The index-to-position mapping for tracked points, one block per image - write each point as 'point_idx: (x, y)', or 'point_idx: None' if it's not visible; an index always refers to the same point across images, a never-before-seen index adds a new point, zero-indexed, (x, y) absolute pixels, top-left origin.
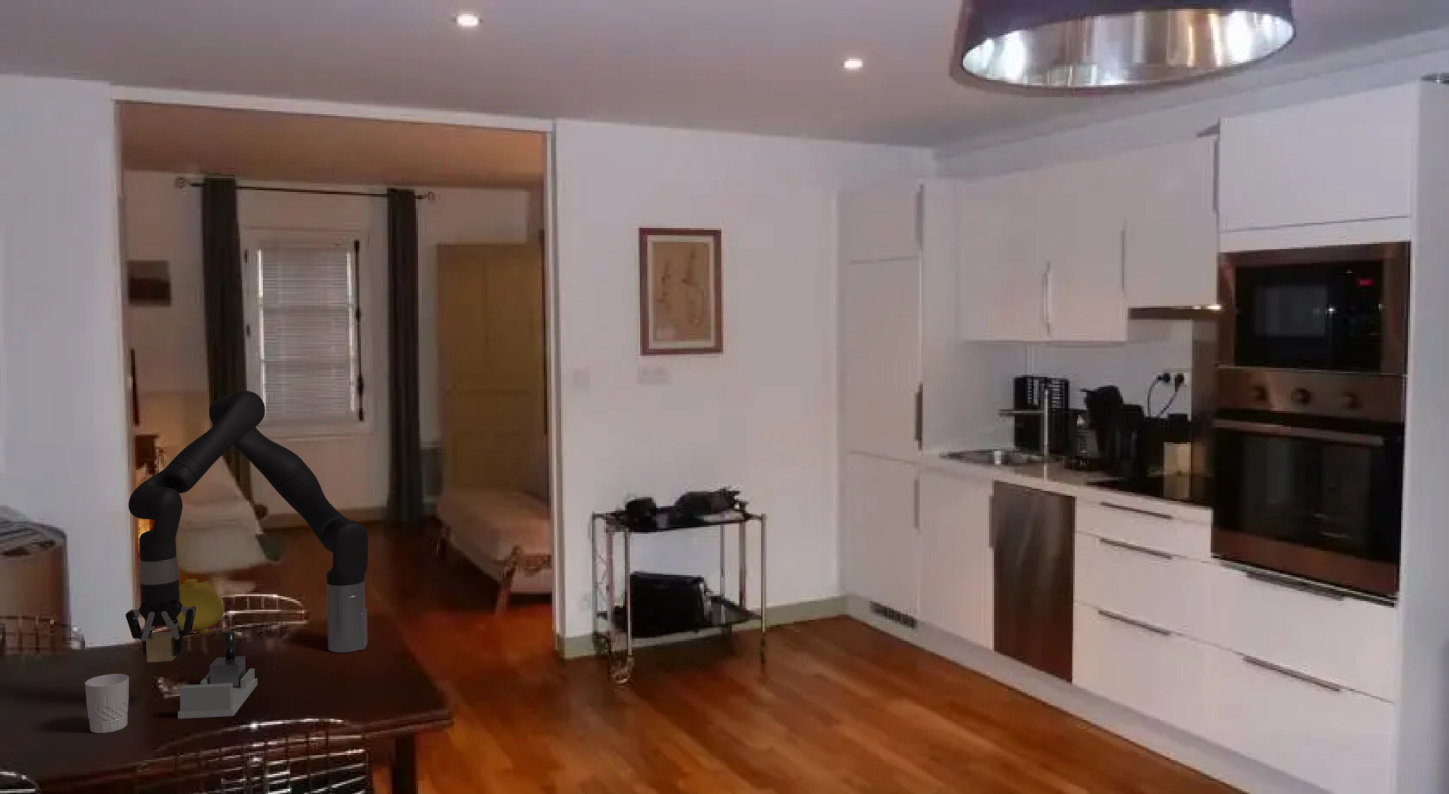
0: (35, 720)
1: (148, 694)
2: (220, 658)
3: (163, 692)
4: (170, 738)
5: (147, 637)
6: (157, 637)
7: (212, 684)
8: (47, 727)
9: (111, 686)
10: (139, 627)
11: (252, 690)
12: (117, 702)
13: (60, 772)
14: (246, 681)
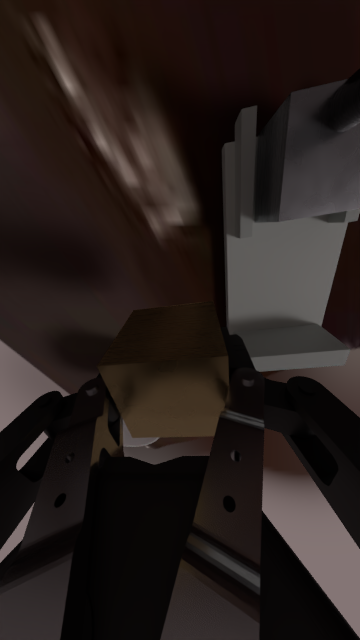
0: (27, 338)
1: (111, 215)
2: (306, 114)
3: (135, 200)
4: None
5: (122, 424)
6: (165, 425)
7: (306, 356)
8: (67, 359)
9: (151, 441)
10: (32, 442)
11: None
12: None
13: (169, 442)
14: None
